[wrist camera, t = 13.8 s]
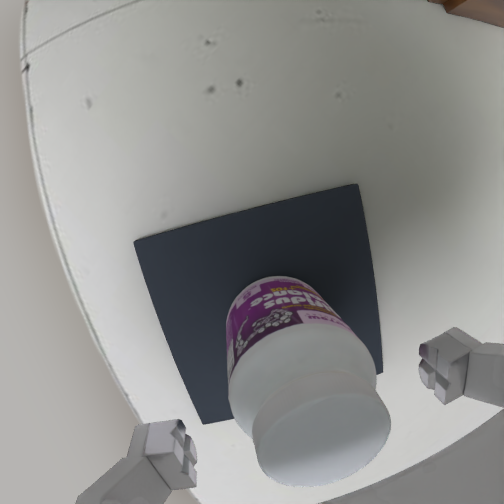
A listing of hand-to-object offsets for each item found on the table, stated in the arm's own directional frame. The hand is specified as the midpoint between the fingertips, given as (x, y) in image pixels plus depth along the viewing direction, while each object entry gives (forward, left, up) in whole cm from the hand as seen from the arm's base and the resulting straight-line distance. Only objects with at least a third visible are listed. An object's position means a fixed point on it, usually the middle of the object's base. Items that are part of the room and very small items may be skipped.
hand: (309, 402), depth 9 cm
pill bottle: (0, 0, -8) cm, 8 cm away
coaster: (0, 0, -8) cm, 8 cm away
